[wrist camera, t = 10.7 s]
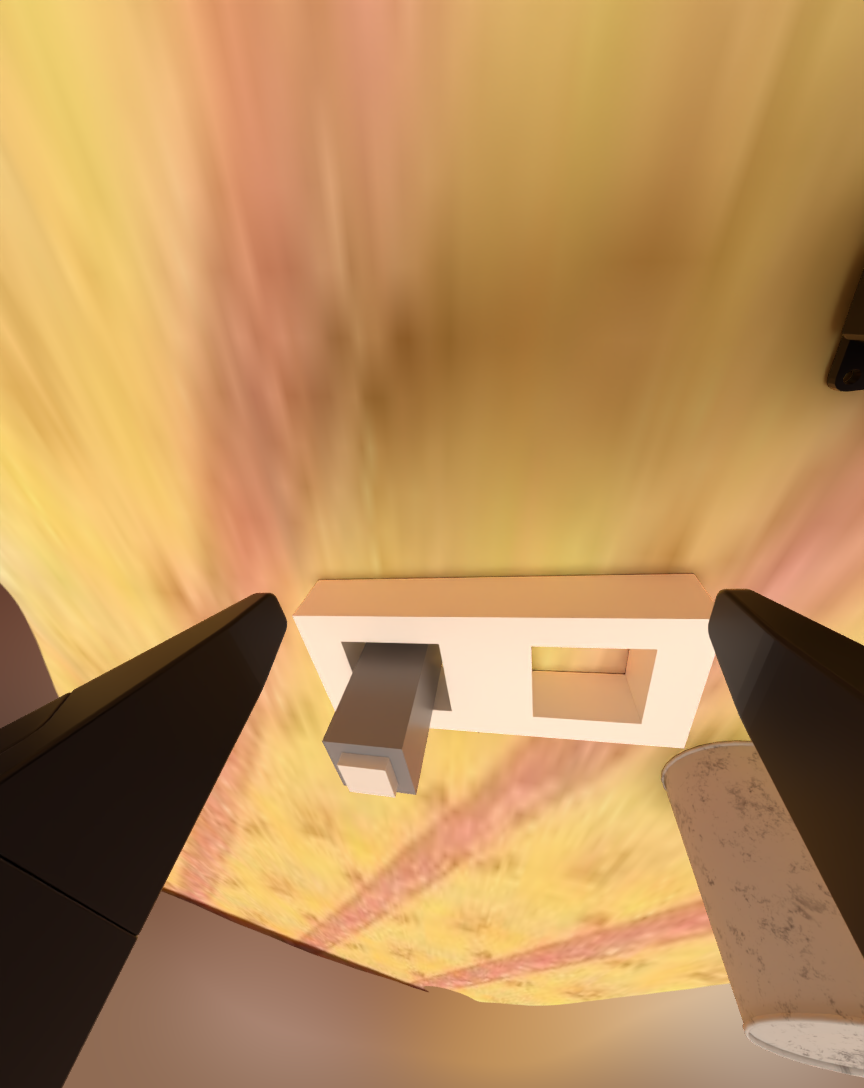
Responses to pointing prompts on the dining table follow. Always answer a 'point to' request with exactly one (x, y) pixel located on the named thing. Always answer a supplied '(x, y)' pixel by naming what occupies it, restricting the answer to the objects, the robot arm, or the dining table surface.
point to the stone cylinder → (769, 909)
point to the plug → (385, 718)
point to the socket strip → (505, 649)
